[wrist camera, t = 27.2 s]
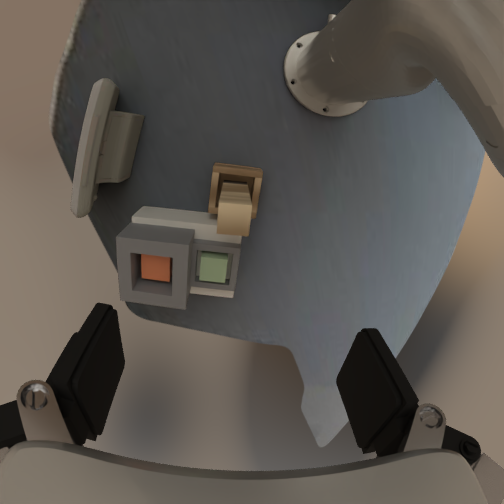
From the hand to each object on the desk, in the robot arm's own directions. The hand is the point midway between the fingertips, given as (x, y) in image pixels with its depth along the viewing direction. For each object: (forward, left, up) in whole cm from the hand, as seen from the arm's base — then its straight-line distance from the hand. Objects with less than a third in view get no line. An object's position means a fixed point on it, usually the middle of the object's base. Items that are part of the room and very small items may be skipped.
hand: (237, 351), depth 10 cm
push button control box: (+9, -5, -30) cm, 32 cm away
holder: (0, 0, -30) cm, 30 cm away
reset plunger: (+9, -8, -24) cm, 27 cm away
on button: (+9, -2, -25) cm, 27 cm away
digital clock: (-5, -18, -31) cm, 36 cm away
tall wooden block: (0, 0, -29) cm, 29 cm away
